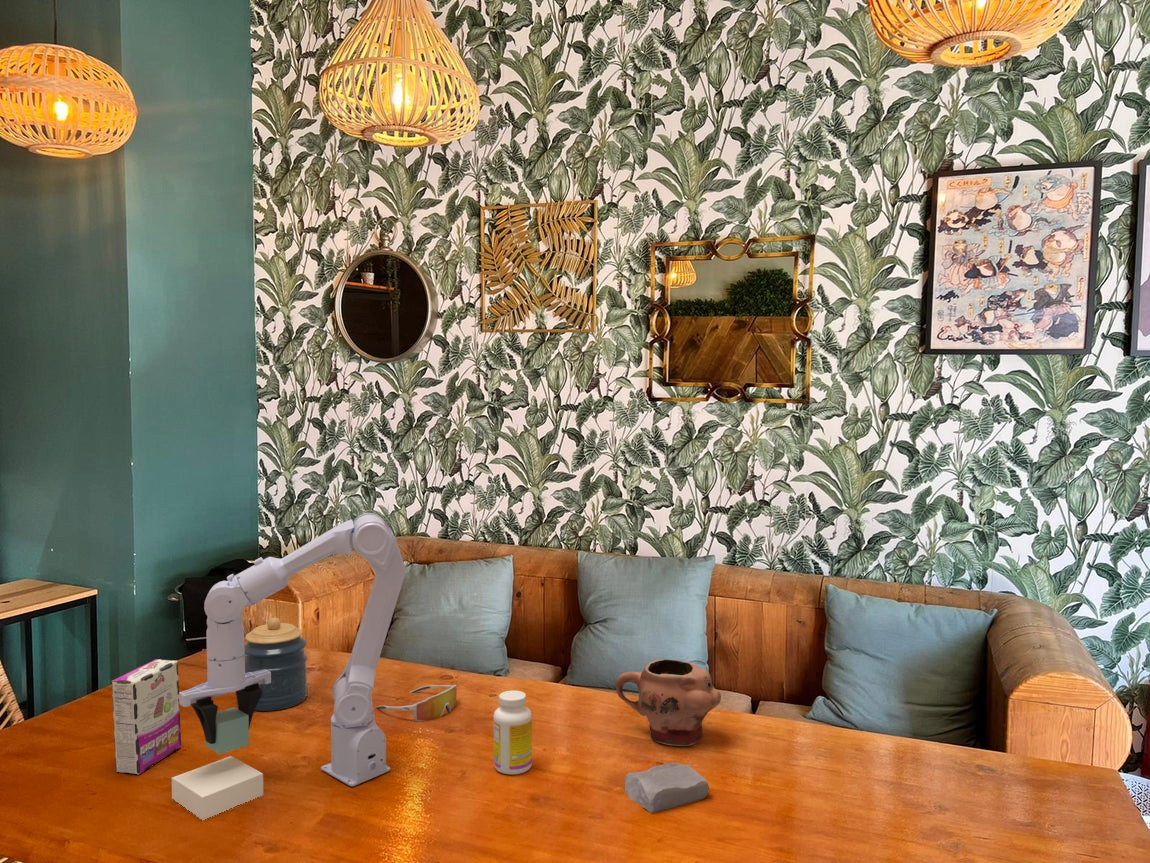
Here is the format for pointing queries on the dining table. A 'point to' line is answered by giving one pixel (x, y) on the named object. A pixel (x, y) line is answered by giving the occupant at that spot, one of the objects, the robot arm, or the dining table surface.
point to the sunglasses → (430, 703)
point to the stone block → (666, 787)
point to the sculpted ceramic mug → (672, 699)
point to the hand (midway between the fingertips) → (227, 736)
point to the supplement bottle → (512, 734)
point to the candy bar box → (146, 715)
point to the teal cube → (230, 731)
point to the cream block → (217, 787)
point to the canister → (278, 663)
